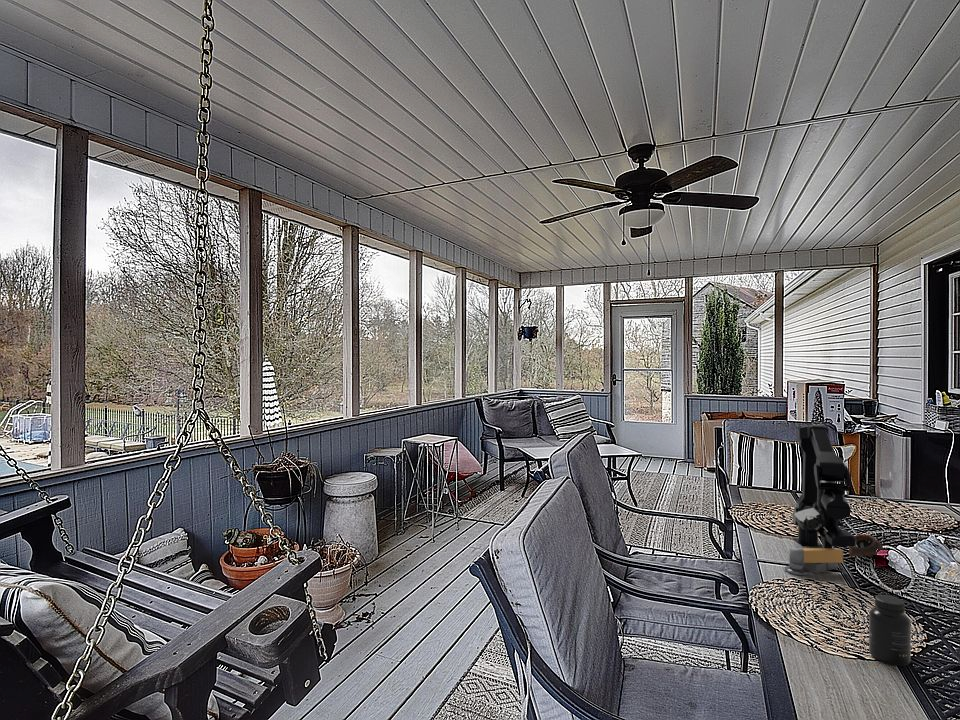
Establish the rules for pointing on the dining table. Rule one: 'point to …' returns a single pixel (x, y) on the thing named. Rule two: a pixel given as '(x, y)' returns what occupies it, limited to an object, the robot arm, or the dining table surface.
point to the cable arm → (815, 555)
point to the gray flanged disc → (796, 569)
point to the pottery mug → (865, 546)
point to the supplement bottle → (890, 631)
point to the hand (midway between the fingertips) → (826, 551)
